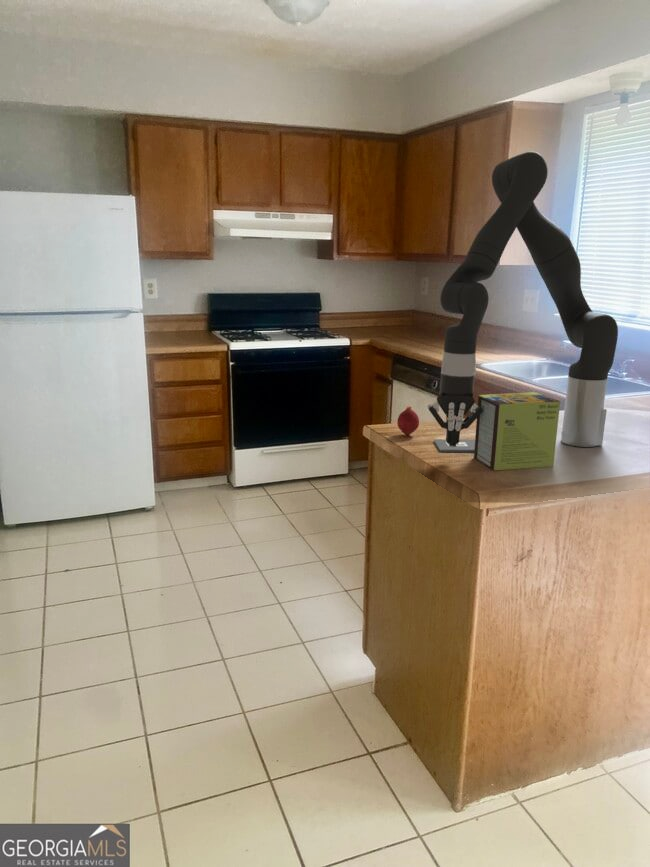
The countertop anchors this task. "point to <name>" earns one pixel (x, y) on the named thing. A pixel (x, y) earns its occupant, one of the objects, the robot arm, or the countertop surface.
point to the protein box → (516, 430)
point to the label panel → (460, 447)
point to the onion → (408, 421)
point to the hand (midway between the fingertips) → (451, 445)
